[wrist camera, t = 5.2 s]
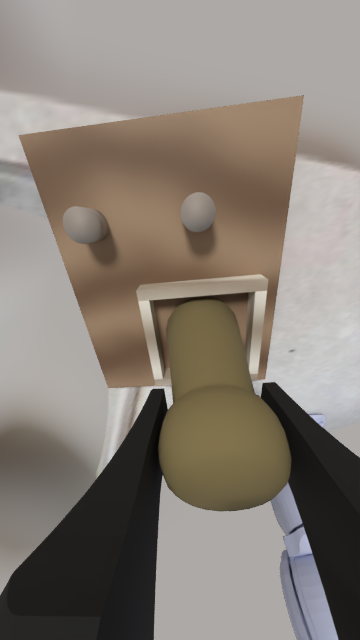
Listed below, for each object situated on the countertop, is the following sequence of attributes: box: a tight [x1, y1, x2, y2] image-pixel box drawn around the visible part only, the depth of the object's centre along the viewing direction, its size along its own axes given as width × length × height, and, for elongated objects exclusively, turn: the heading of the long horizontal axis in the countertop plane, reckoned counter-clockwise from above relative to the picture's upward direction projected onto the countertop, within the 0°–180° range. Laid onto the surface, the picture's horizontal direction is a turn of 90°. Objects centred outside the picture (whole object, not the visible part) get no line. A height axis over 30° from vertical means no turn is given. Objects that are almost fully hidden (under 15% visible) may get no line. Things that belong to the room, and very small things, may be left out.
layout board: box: [19, 95, 304, 388], centre depth 15 cm, size 20×16×3 cm
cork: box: [158, 297, 292, 511], centre depth 11 cm, size 6×6×11 cm
